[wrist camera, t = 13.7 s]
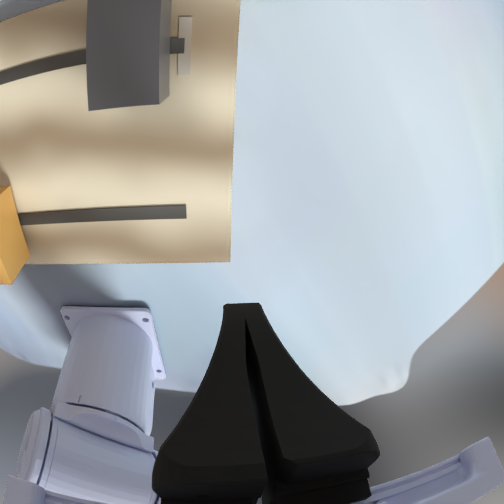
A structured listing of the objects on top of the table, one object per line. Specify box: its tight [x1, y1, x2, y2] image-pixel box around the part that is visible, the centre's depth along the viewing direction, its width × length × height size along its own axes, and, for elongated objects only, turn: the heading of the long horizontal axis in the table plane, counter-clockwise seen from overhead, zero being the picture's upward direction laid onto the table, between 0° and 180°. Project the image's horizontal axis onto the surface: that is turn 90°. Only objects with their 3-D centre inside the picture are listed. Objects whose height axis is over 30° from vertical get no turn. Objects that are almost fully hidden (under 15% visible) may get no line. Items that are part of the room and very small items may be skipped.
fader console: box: [0, 0, 240, 264], centre depth 15 cm, size 16×26×2 cm, turn 87°
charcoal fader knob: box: [86, 0, 172, 111], centre depth 11 cm, size 5×3×3 cm, turn 177°
